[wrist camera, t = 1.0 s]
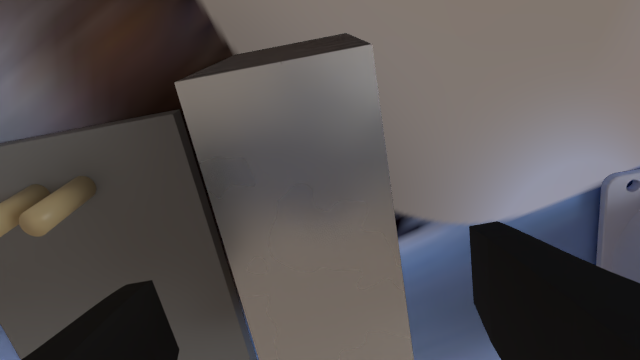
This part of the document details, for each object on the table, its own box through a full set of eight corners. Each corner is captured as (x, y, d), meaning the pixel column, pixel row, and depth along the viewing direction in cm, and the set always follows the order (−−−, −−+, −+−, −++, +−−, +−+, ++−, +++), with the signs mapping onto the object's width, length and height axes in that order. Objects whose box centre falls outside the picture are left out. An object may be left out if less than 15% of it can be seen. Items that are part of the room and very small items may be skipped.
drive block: (346, 33, 15) (371, 44, 8) (382, 271, 18) (420, 412, 12) (235, 54, 15) (174, 82, 8) (292, 285, 18) (281, 432, 12)
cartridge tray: (179, 109, 15) (139, 136, 12) (279, 431, 21) (272, 512, 18) (-73, 157, 16) (-184, 196, 12) (93, 458, 22) (51, 542, 18)
